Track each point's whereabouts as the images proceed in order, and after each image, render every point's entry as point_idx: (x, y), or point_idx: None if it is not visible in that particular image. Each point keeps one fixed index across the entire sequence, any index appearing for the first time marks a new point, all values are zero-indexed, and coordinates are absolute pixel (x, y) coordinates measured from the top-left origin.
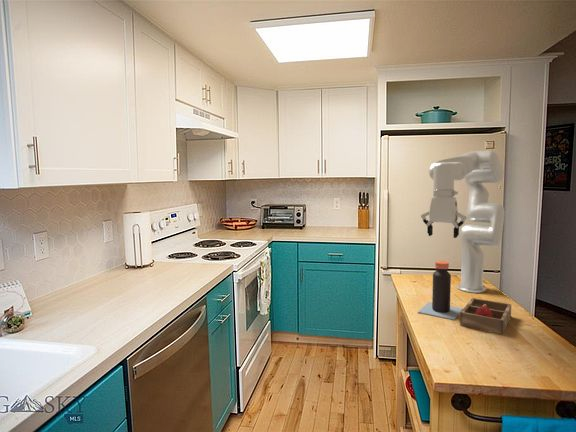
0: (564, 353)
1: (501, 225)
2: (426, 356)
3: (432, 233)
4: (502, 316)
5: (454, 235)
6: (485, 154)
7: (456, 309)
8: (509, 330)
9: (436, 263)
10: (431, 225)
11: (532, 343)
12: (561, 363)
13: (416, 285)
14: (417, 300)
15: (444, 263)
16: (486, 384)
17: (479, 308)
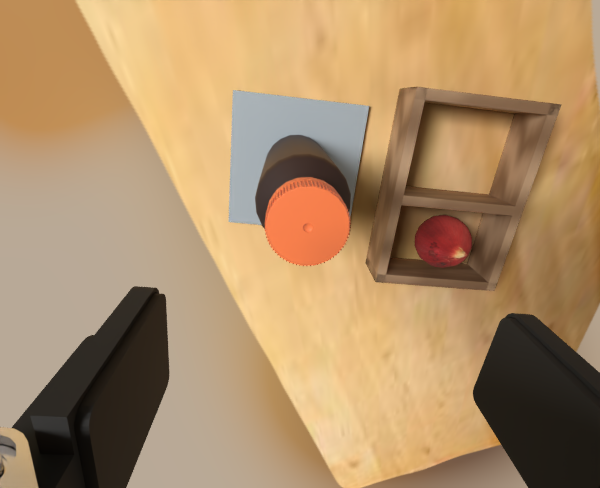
0: (583, 313)
1: None
2: (313, 438)
3: (157, 302)
4: (498, 258)
5: (498, 424)
6: None
7: (347, 133)
8: None
9: (275, 252)
10: (72, 472)
11: (530, 292)
12: None
13: None
14: (182, 74)
15: (327, 251)
16: (414, 471)
17: (438, 257)
